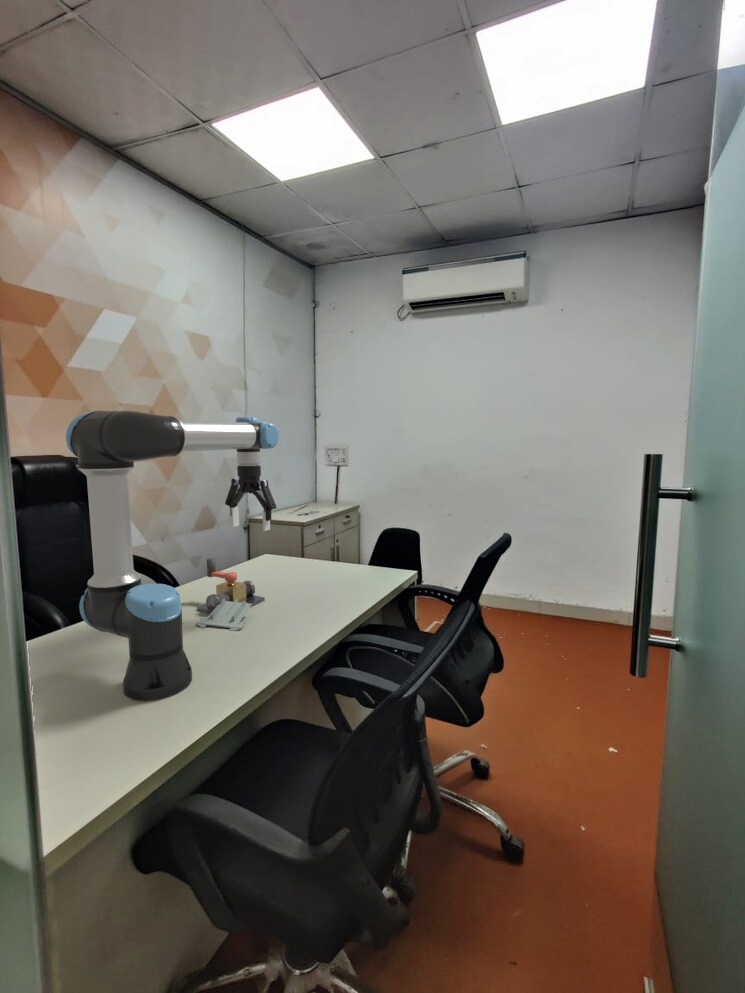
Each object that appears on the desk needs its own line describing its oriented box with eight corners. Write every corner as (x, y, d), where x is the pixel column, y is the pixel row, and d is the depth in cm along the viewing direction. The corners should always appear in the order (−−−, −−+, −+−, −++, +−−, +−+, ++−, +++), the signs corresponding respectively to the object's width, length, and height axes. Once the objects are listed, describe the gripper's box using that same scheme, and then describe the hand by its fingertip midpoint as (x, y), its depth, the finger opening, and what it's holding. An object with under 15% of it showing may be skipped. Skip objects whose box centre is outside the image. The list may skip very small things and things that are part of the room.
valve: (228, 617, 157) (227, 591, 156) (197, 610, 163) (196, 584, 162) (264, 600, 173) (263, 576, 172) (234, 594, 179) (234, 570, 178)
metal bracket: (216, 593, 161) (258, 598, 158) (219, 608, 163) (260, 612, 160) (193, 621, 148) (238, 626, 145) (196, 636, 151) (240, 641, 148)
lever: (239, 578, 168) (238, 561, 167) (231, 581, 164) (230, 564, 163) (212, 573, 173) (212, 557, 172) (204, 576, 170) (203, 560, 169)
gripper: (286, 465, 156) (287, 529, 159) (229, 462, 168) (231, 522, 170) (271, 467, 149) (272, 534, 152) (212, 464, 161) (215, 526, 164)
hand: (250, 528), depth 161 cm, fingers open, 13 cm apart
